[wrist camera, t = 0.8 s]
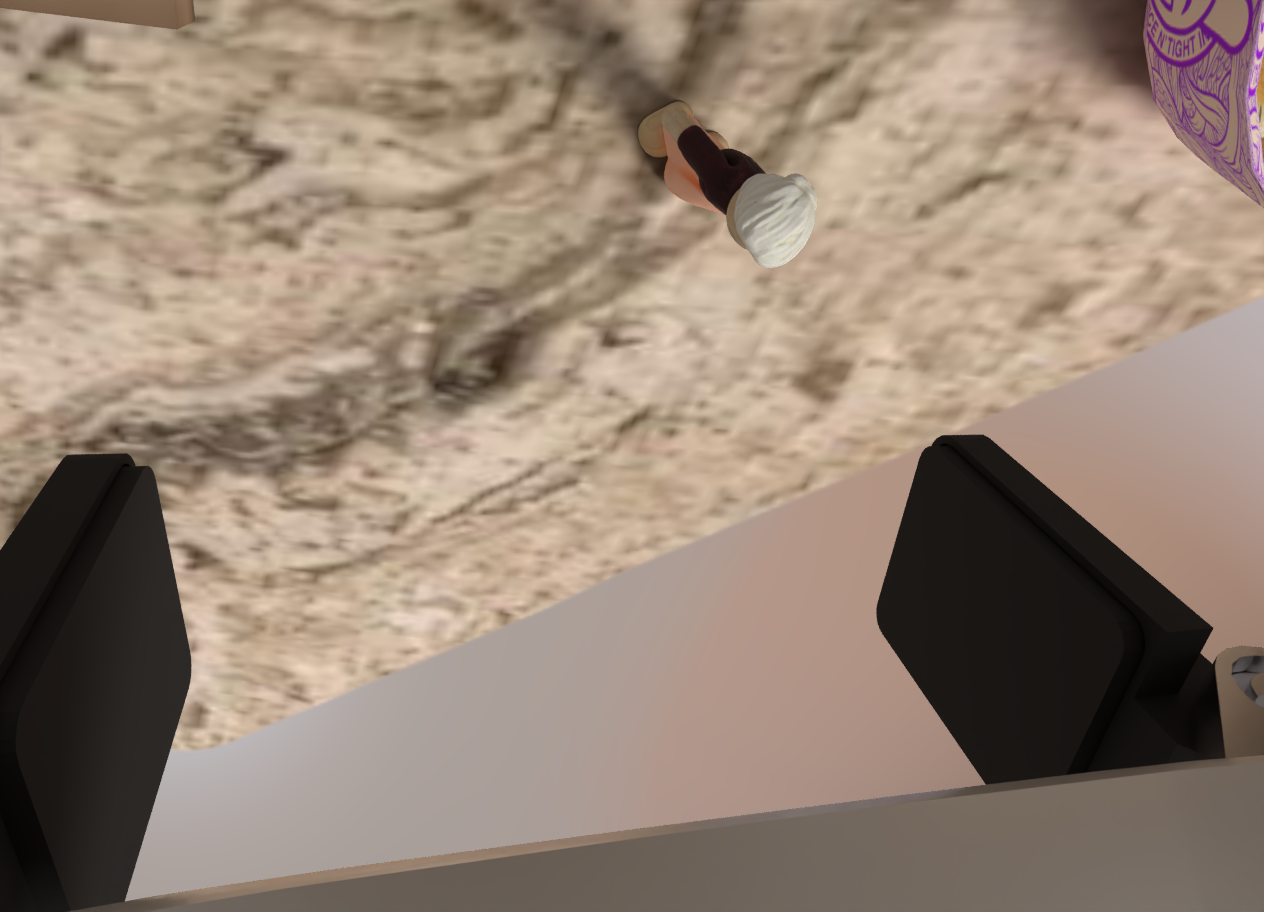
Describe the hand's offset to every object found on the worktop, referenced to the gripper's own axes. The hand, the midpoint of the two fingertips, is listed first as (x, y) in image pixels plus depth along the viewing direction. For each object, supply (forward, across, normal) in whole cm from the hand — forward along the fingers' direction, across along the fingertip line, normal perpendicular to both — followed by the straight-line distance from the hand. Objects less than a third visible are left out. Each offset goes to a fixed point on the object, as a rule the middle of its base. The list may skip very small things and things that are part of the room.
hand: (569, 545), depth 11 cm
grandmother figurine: (+32, -11, +1) cm, 34 cm away
